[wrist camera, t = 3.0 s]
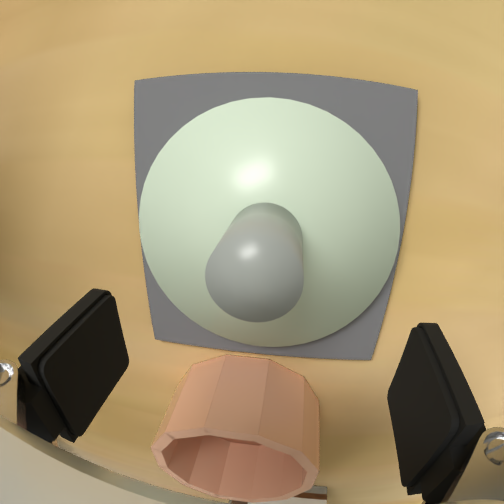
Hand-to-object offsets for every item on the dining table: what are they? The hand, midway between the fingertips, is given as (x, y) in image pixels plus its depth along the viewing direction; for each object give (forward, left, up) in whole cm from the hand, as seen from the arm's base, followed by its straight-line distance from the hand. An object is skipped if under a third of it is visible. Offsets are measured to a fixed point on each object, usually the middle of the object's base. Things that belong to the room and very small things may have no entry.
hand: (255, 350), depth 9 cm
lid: (0, -1, -10) cm, 10 cm away
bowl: (+16, -2, -11) cm, 19 cm away
